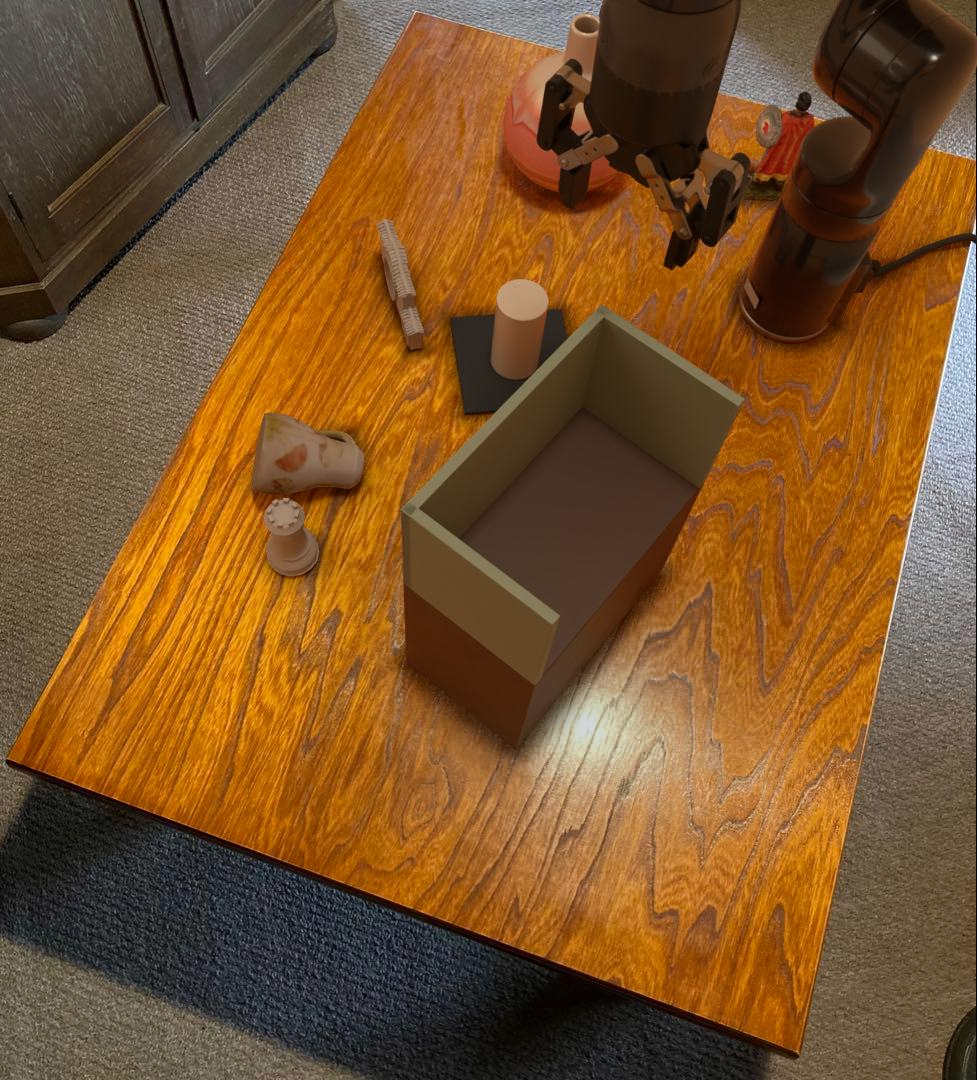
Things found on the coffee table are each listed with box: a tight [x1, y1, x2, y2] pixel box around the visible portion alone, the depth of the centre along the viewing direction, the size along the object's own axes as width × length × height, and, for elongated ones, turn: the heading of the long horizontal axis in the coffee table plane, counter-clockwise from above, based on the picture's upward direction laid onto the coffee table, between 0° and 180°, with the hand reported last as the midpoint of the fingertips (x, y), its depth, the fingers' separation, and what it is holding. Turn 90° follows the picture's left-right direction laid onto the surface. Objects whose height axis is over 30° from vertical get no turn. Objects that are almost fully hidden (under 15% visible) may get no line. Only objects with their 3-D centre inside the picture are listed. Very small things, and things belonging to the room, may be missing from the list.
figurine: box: [742, 91, 816, 202], centre depth 109 cm, size 8×5×12 cm, turn 81°
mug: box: [251, 412, 366, 496], centre depth 94 cm, size 8×10×10 cm
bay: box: [400, 303, 746, 750], centre depth 79 cm, size 12×21×27 cm, turn 141°
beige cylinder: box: [491, 278, 550, 380], centre depth 98 cm, size 5×5×9 cm
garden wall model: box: [375, 218, 425, 351], centre depth 102 cm, size 12×2×6 cm, turn 16°
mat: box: [449, 308, 569, 416], centre depth 103 cm, size 11×11×1 cm
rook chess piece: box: [263, 497, 320, 577], centre depth 89 cm, size 4×4×8 cm
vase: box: [502, 13, 621, 193], centre depth 106 cm, size 14×14×18 cm
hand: (623, 230), depth 76 cm, fingers open, 8 cm apart
